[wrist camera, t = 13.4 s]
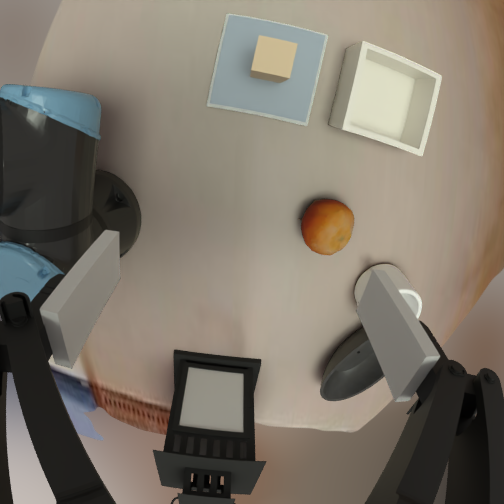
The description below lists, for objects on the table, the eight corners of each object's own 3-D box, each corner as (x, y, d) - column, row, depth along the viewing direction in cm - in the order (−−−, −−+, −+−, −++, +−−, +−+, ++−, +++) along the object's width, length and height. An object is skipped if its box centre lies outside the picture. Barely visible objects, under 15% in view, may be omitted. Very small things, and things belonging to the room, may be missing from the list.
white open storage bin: (328, 124, 42) (342, 129, 35) (346, 48, 36) (362, 40, 30) (400, 147, 43) (422, 156, 37) (417, 76, 38) (442, 75, 31)
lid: (210, 103, 40) (198, 104, 30) (229, 16, 34) (224, -9, 24) (304, 121, 41) (322, 129, 31) (323, 37, 35) (347, 19, 25)
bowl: (300, 369, 64) (304, 392, 58) (374, 297, 55) (386, 317, 50) (340, 385, 67) (346, 406, 61) (411, 321, 59) (423, 341, 53)
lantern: (260, 359, 62) (269, 528, 30) (248, 407, 69) (251, 545, 38) (174, 349, 60) (141, 516, 29) (175, 399, 68) (154, 536, 37)
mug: (335, 270, 53) (350, 301, 44) (388, 240, 50) (411, 267, 42) (360, 316, 57) (374, 348, 49) (407, 289, 55) (427, 319, 47)
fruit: (304, 180, 44) (341, 209, 39) (336, 193, 49) (371, 220, 44) (277, 228, 47) (309, 261, 42) (311, 235, 52) (342, 264, 47)
